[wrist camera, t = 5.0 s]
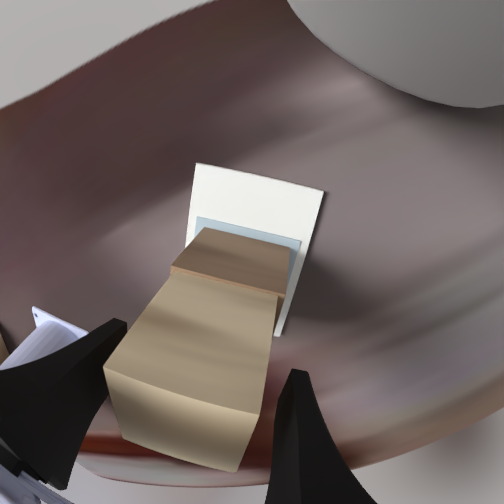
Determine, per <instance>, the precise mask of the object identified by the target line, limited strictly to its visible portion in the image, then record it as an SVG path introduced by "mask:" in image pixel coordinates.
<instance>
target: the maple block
mask: <svg viewBox="0 0 504 504" xmlns="http://www.w3.org/2000/svg"><path fill="white" fill-rule="evenodd" d="M277 299H278V296H277V295H273V294H268V293H264V292H260V291H255V290H251V289H247V288H243V287H238V286H234V285H230V284H226V283H222V282H218V281H214V280H210V279H206V278H202V277H198V276H194V275H190V274H186V273H182V272H178V271H174V272H173V273H172V275H171V276H170V277H169V279H168V280H167V281H166V282H165V284H164V285H163V286H162V288H161V289H160V290H159V291H158V293H157V294H156V295H155V297H154V298H153V299H152V301H151V302H150V303H149V304H148V306H147V307H146V308H145V310H144V311H143V312H142V314H141V315H140V316H139V318H138V319H137V320H136V322H135V323H134V324H133V326H132V327H131V328H130V330H129V331H128V332H127V334H126V335H125V337H124V338H123V339H122V341H121V342H120V343H119V345H118V346H117V348H116V349H115V350H114V352H113V353H112V354H111V356H110V357H109V359H108V360H107V361H106V363H105V364H104V366H103V369H104V373H105V378H106V382H107V386H108V389H109V393H110V397H111V401H112V404H113V408H114V411H115V414H116V418H117V421H118V424H119V427H120V430H121V433H122V436H123V438H124V439H126V440H129V441H131V442H134V443H136V444H139V445H141V446H144V447H147V448H149V449H152V450H155V451H158V452H161V453H164V454H167V455H170V456H173V457H176V458H179V459H182V460H186V461H189V462H192V463H196V464H200V465H203V466H207V467H211V468H215V469H219V470H224V471H228V472H233V473H236V471H237V469H238V466H239V464H240V462H241V459H242V457H243V455H244V452H245V450H246V447H247V445H248V443H249V440H250V438H251V435H252V433H253V430H254V428H255V425H256V423H257V420H258V418H259V415H260V409H261V403H262V397H263V391H264V385H265V379H266V373H267V367H268V360H269V354H270V347H271V341H272V334H273V327H274V320H275V313H276V306H277Z"/></svg>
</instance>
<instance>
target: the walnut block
mask: <svg viewBox="0 0 504 504" xmlns="http://www.w3.org/2000/svg"><path fill="white" fill-rule="evenodd" d="M289 255H290V247H287V246H283V245H279V244H274V243H270V242H266V241H262V240H258V239H254V238H250V237H245V236H241V235H237V234H233V233H229V232H224V231H220V230H216V229H212V228H207V227H204V228H203V229H202V230H201V231H200V232H199V233H198V234H197V236H196V237H195V238H194V239H193V240H192V241H191V242H190V244H189V245H188V246H187V247H186V248H185V249H184V251H183V252H182V253H181V254H180V255H179V257H178V258H177V259H176V260H175V261H174V262H173V264H172V265H171V271H170V276H171V275H172V273H173V272H174V271H178V272H182V273H186V274H190V275H194V276H198V277H202V278H206V279H210V280H214V281H218V282H222V283H226V284H230V285H234V286H238V287H243V288H247V289H251V290H255V291H260V292H264V293H268V294H273V295H277V296H278V299H277V306H276V313H275V320H274V327H273V334H272V338H273V335H274V332H275V328H276V325H277V322H278V319H279V316H280V313H281V309H282V306H283V303H284V300H285V296H286V289H287V279H288V267H289Z"/></svg>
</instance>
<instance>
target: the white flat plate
mask: <svg viewBox="0 0 504 504" xmlns="http://www.w3.org/2000/svg"><path fill="white" fill-rule="evenodd" d="M323 192H324V191H323V190H319V189H315V188H311V187H307V186H304V185H300V184H295V183H291V182H287V181H283V180H279V179H275V178H270V177H266V176H261V175H257V174H252V173H248V172H243V171H238V170H233V169H229V168H224V167H218V166H213V165H208V164H203V163H196V168H195V175H194V182H193V189H192V196H191V204H190V211H189V219H188V228H187V236H186V245H185V248H186V247H187V246H188V245H189V244H190V242H191V241H192V240H193V239H194V238H195V237H196V236H197V234H198V233H199V232H200V231H201V230H202V229H203V228H204V227H207V228H212V229H216V230H220V231H224V232H229V233H233V234H237V235H241V236H245V237H250V238H254V239H258V240H262V241H266V242H270V243H274V244H279V245H283V246H287V247H290V255H289V267H288V279H287V289H286V296H285V300H284V303H283V306H282V309H281V313H280V316H279V319H278V322H277V325H276V328H275V332H274V335H273V336H278V337H280V334H281V331H282V328H283V325H284V322H285V319H286V316H287V313H288V310H289V307H290V304H291V301H292V298H293V295H294V291H295V288H296V285H297V282H298V279H299V275H300V272H301V269H302V266H303V262H304V259H305V256H306V252H307V249H308V246H309V242H310V239H311V235H312V232H313V228H314V225H315V221H316V218H317V214H318V211H319V207H320V203H321V200H322V196H323Z"/></svg>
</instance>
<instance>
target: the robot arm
mask: <svg viewBox="0 0 504 504" xmlns="http://www.w3.org/2000/svg"><path fill="white" fill-rule="evenodd" d="M32 311H33V315H34V319H35V322H36V326H37V328H36V329H35V330H34V331H33V332H32V333H31V334H30V335H29V336H28V337H27V338H26V339H25V340H24V341H23V342H22V343H21V344H20V345H19V346H18V347H17V348H16V350H15V351H14V352H13V353H12V354H11V355H10V356H9V357H8V358H7V359H6V360H5V361H4V362H3V363H2V364H1V365H0V504H41V501H40V499H41V500H42V501H44V502H46V503H47V504H74V503H72V502H70V501H68V500H67V499H65V498H63V497H61V496H60V495H58V494H57V493H55V492H53V491H52V490H50V489H48V488H47V487H46V486H44V485H43V484H41V482H43V483H45V484H47V483H48V484H50V485H51V486H53V487H54V488H56V489H58V490H65V489H67V486H68V482H69V478H70V475H71V471H72V468H73V465H74V462H75V460H76V457H77V454H78V451H79V449H80V446H81V444H82V442H83V439H84V437H85V435H86V432H87V430H88V428H89V426H90V424H91V422H92V420H93V418H94V416H95V414H96V413H97V411H98V410H99V408H100V407H101V405H102V403H103V402H104V400H105V399H106V397H107V396H108V394H109V389H108V386H107V382H106V378H105V373H104V369H103V366H104V364H105V363H106V361H107V360H108V359H109V357H110V356H111V354H112V353H113V352H114V350H115V349H116V348H117V346H118V345H119V343H120V342H121V341H122V339H123V338H124V337H125V335H126V334H127V322H124V321H121V320H119V319H116V318H113V319H112V320H110V321H108V322H106V323H105V324H103V325H101V326H100V327H98V328H96V329H95V330H93V331H92V332H90V333H89V332H88V331H85V330H83V329H81V328H79V327H76V326H74V325H72V324H70V323H68V322H65V321H63V320H61V319H59V318H57V317H55V316H53V315H51V314H49V313H47V312H45V311H43V310H41V309H39V308H37V307H35V306H33V307H32ZM35 313H36V314H37V315H36V314H35ZM265 504H377V503H376V502H375V501H374V500H373V499H372V498H371V496H370V495H369V494H368V493H367V492H366V490H365V489H364V488H363V487H362V485H361V484H360V483H359V482H358V480H357V479H356V477H355V476H354V475H353V473H352V472H351V470H350V469H349V467H348V466H347V464H346V463H345V461H344V459H343V458H342V456H341V454H340V453H339V451H338V449H337V447H336V445H335V443H334V441H333V439H332V437H331V435H330V433H329V431H328V429H327V426H326V424H325V422H324V419H323V416H322V414H321V411H320V409H319V406H318V403H317V400H316V397H315V394H314V391H313V388H312V384H311V381H310V377H309V374H308V372H307V371H302V370H297V369H291V372H290V374H289V376H288V379H287V381H286V383H285V385H284V388H283V390H282V392H281V394H280V397H279V399H278V404H277V410H276V415H275V421H274V436H273V452H272V467H271V475H270V481H269V486H268V491H267V496H266V500H265Z"/></svg>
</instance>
